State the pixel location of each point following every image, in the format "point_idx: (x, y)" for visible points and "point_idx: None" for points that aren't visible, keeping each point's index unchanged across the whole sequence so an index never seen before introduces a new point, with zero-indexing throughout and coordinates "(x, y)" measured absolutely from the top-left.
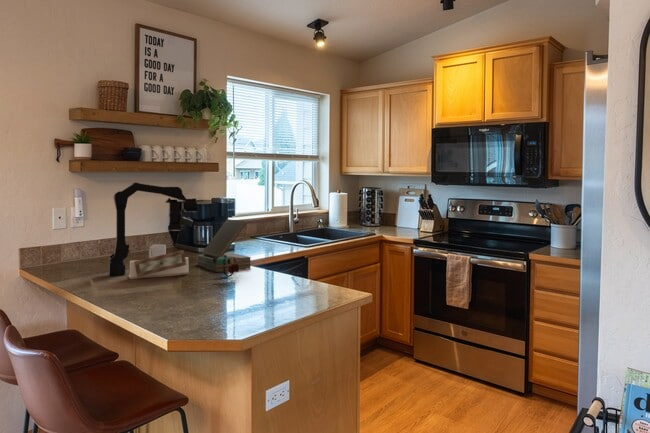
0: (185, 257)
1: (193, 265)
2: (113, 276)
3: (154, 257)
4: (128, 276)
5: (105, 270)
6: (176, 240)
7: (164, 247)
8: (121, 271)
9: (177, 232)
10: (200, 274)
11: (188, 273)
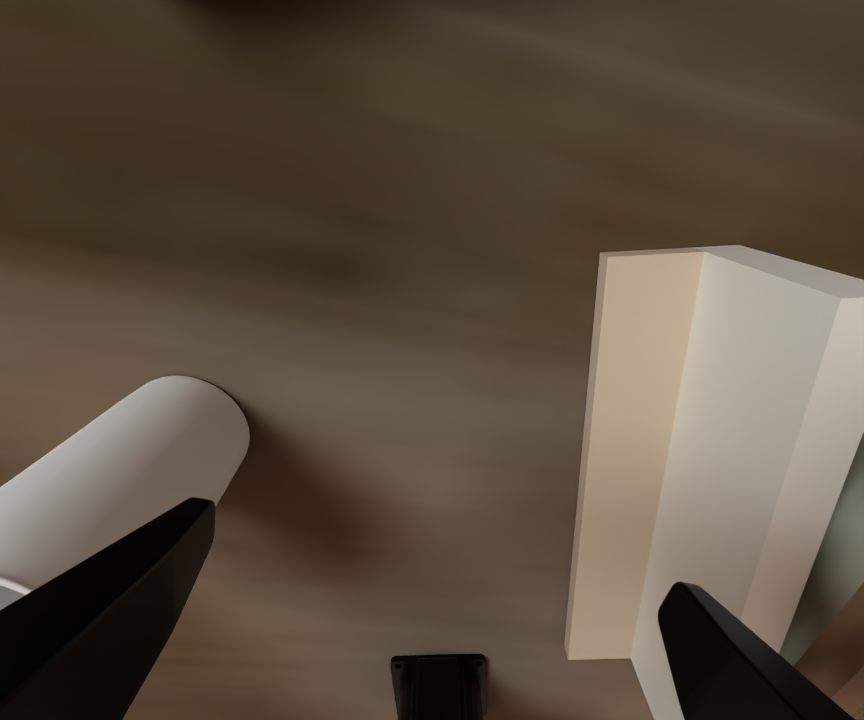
0: (842, 330)
1: (53, 12)
2: (486, 698)
3: (858, 705)
4: (566, 648)
5: (215, 714)
6: (799, 682)
7: (68, 560)
8: (470, 695)
9: None
10: (838, 112)
11: (745, 247)
